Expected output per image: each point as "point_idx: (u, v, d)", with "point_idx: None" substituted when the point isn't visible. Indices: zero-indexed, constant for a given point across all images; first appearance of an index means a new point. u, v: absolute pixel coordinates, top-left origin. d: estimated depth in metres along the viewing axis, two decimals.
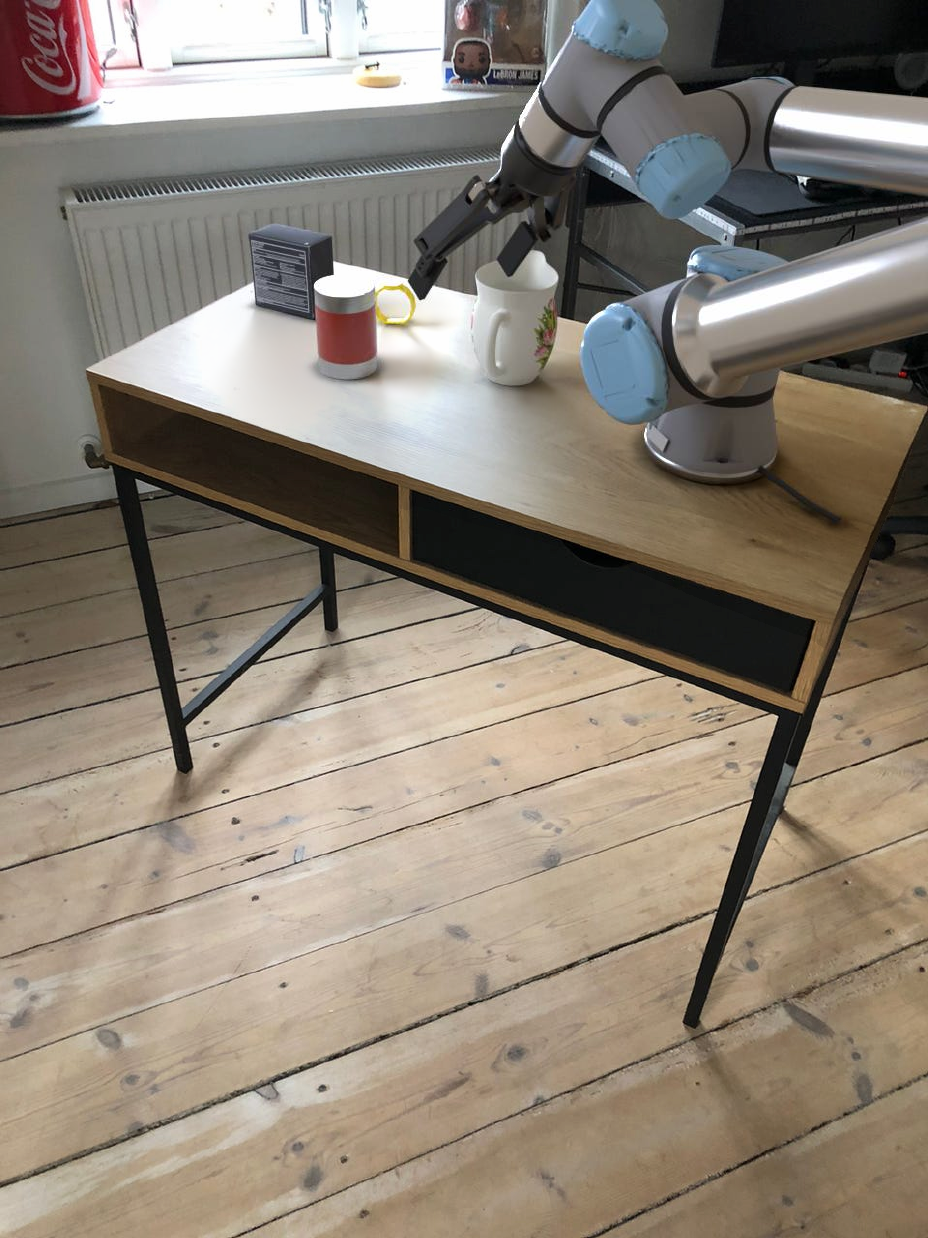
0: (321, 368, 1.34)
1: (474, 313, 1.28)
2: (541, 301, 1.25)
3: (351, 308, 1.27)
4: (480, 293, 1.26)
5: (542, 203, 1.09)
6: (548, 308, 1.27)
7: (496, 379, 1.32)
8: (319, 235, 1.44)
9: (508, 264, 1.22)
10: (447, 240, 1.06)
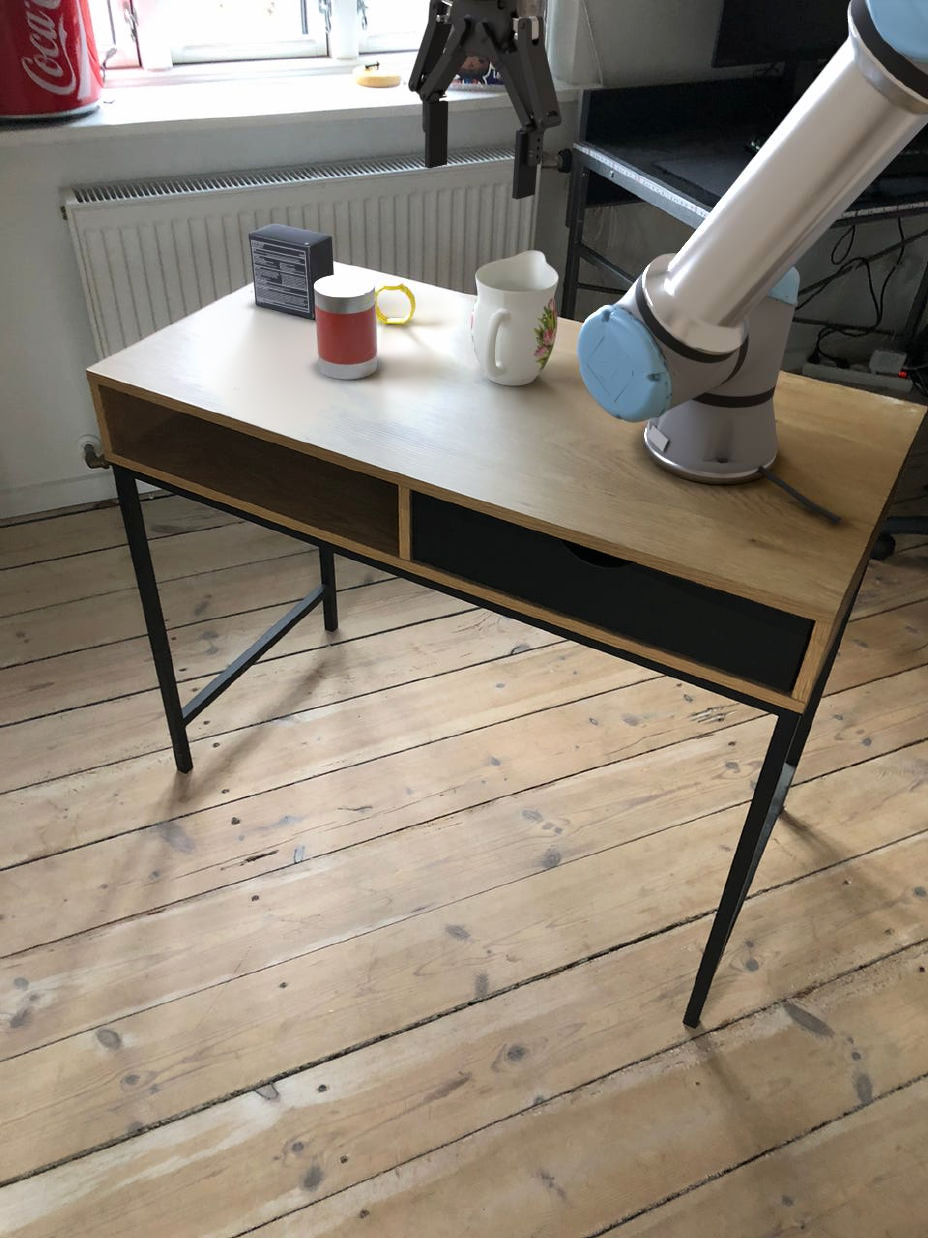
0: (321, 368, 1.34)
1: (474, 313, 1.28)
2: (541, 301, 1.25)
3: (351, 308, 1.27)
4: (480, 293, 1.26)
5: (491, 43, 1.00)
6: (548, 308, 1.27)
7: (496, 379, 1.32)
8: (319, 235, 1.44)
9: None
10: (418, 62, 1.09)
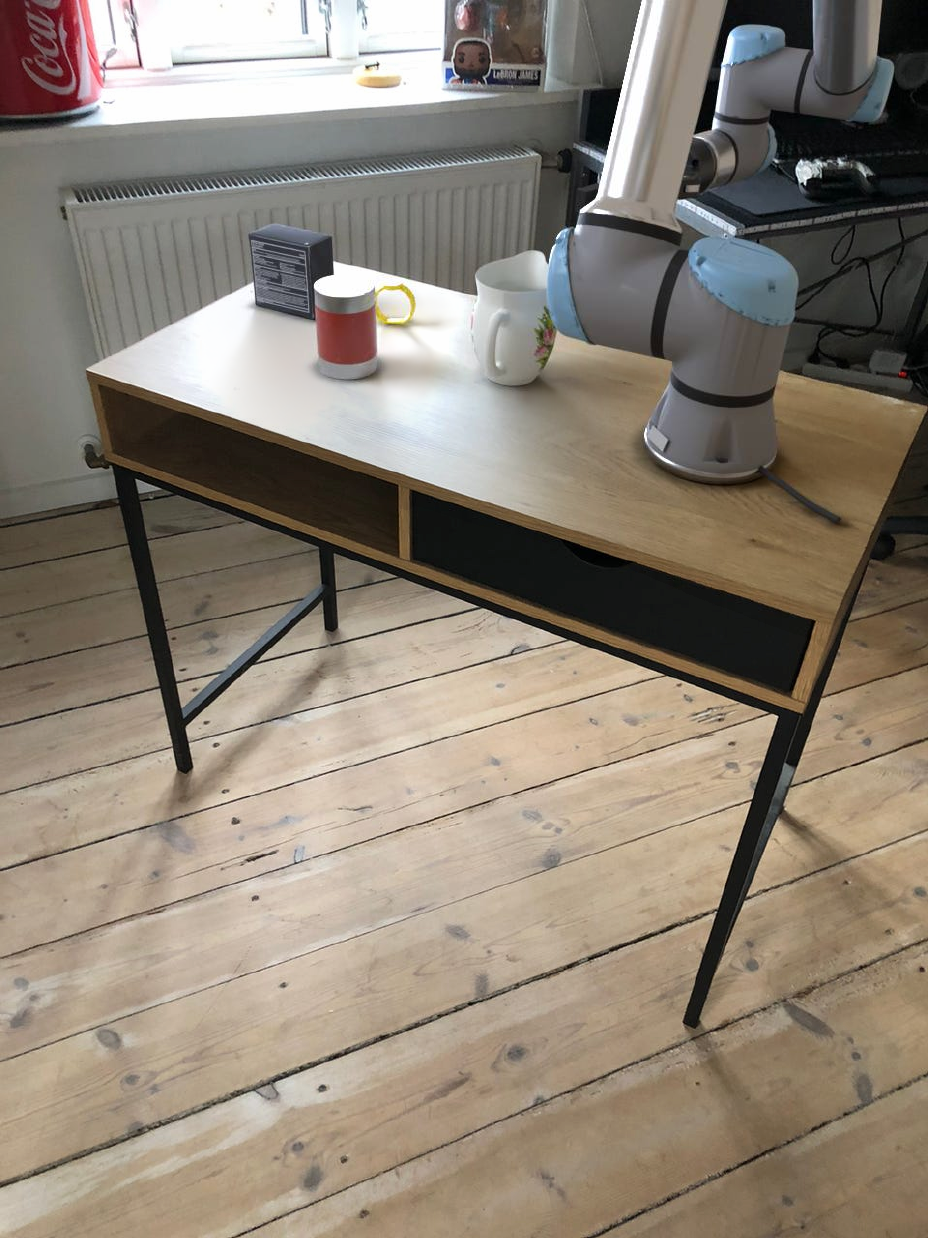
0: (321, 368, 1.34)
1: (474, 313, 1.28)
2: (541, 301, 1.25)
3: (351, 308, 1.27)
4: (480, 293, 1.26)
5: None
6: (548, 308, 1.27)
7: (496, 379, 1.32)
8: (319, 235, 1.44)
9: None
10: None
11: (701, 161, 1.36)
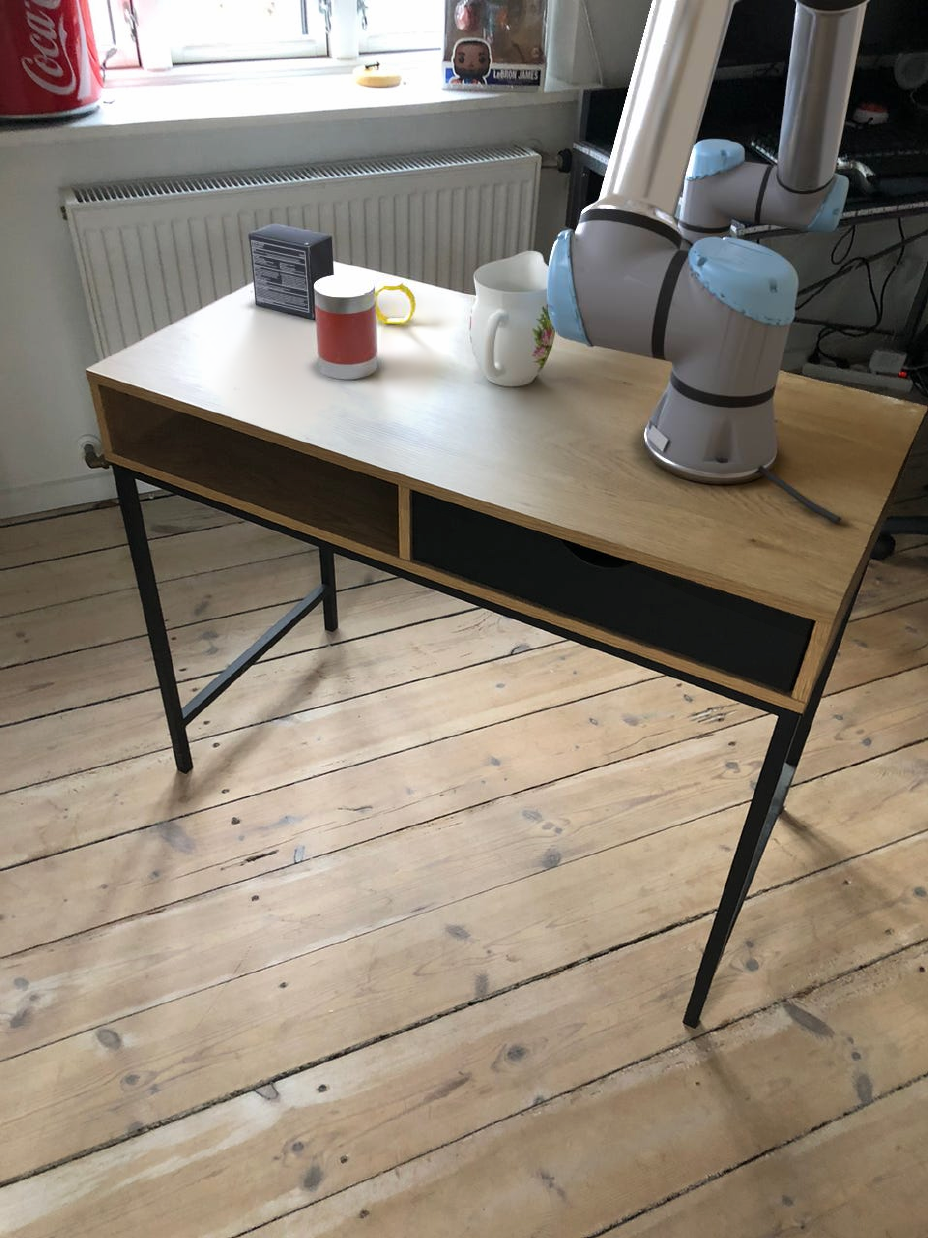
0: (321, 368, 1.34)
1: (472, 314, 1.28)
2: (539, 301, 1.25)
3: (351, 308, 1.27)
4: (478, 294, 1.26)
5: None
6: (547, 309, 1.27)
7: (495, 380, 1.32)
8: (319, 235, 1.44)
9: None
10: None
11: None
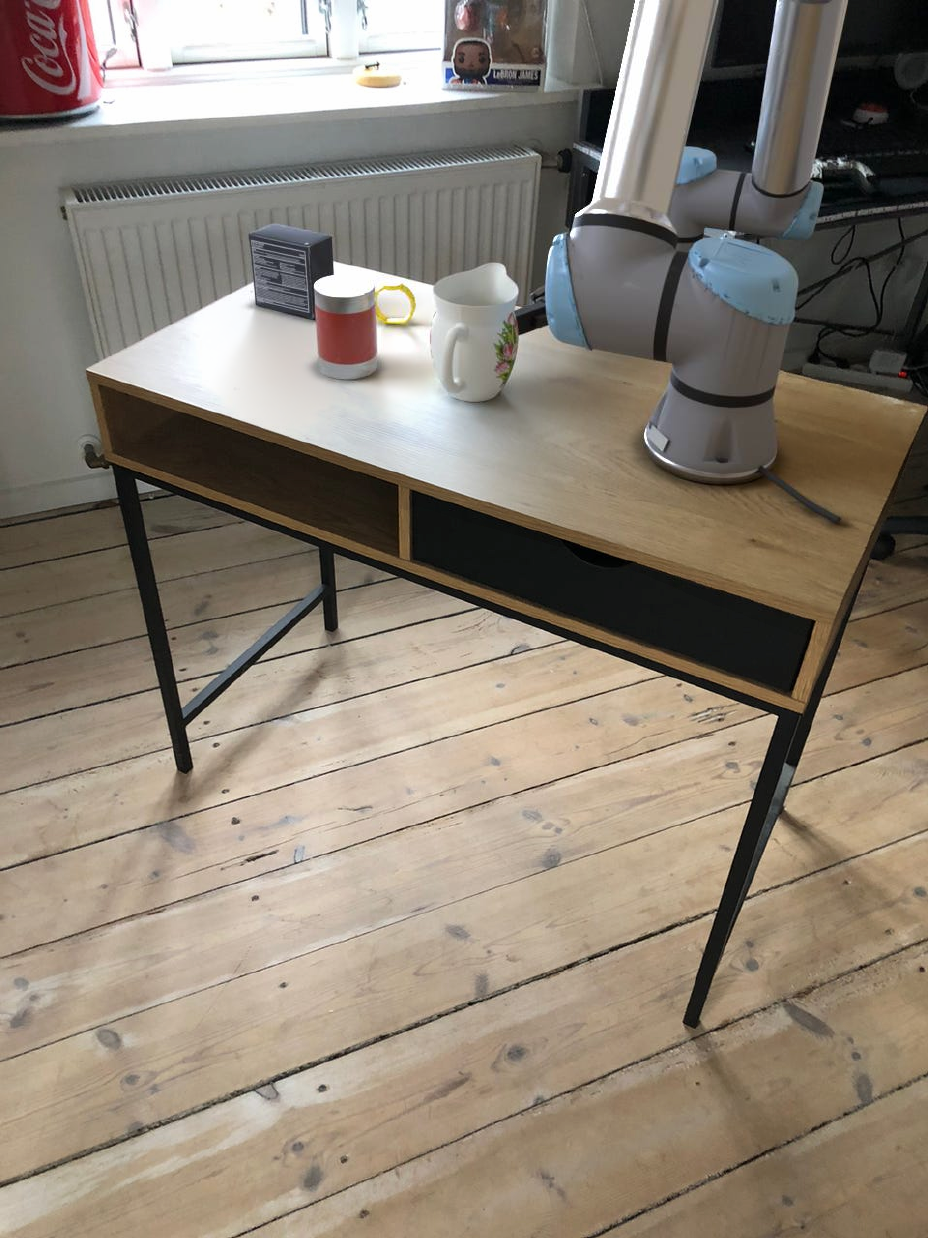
0: (321, 368, 1.34)
1: (432, 328, 1.25)
2: (500, 315, 1.21)
3: (351, 308, 1.27)
4: (438, 307, 1.22)
5: None
6: (508, 322, 1.23)
7: (456, 395, 1.28)
8: (319, 235, 1.44)
9: None
10: (543, 288, 1.37)
11: None
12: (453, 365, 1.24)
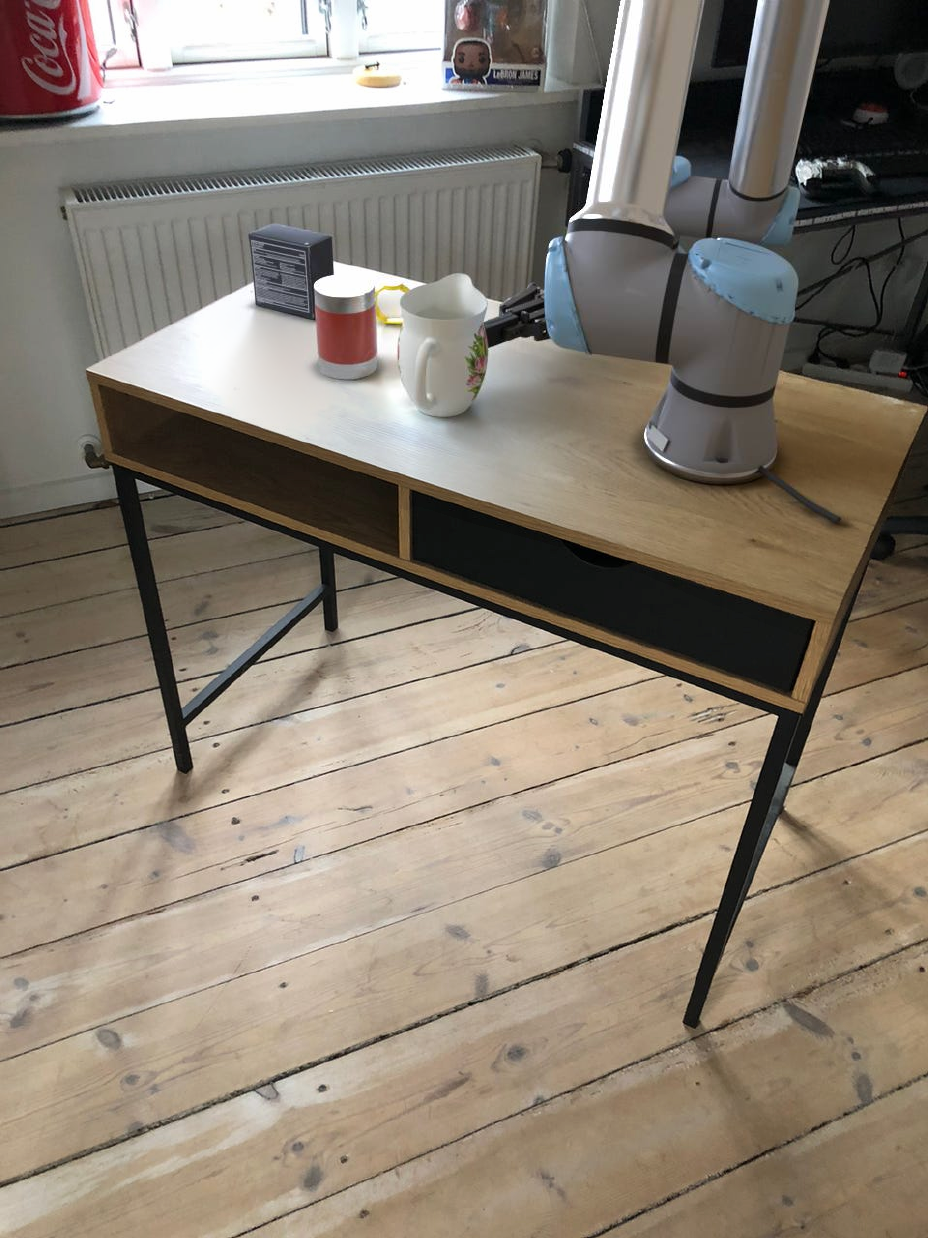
0: (321, 368, 1.34)
1: (400, 343, 1.21)
2: (471, 328, 1.18)
3: (351, 308, 1.27)
4: (406, 322, 1.19)
5: None
6: (479, 335, 1.20)
7: (427, 411, 1.25)
8: (319, 235, 1.44)
9: None
10: (513, 298, 1.34)
11: None
12: None
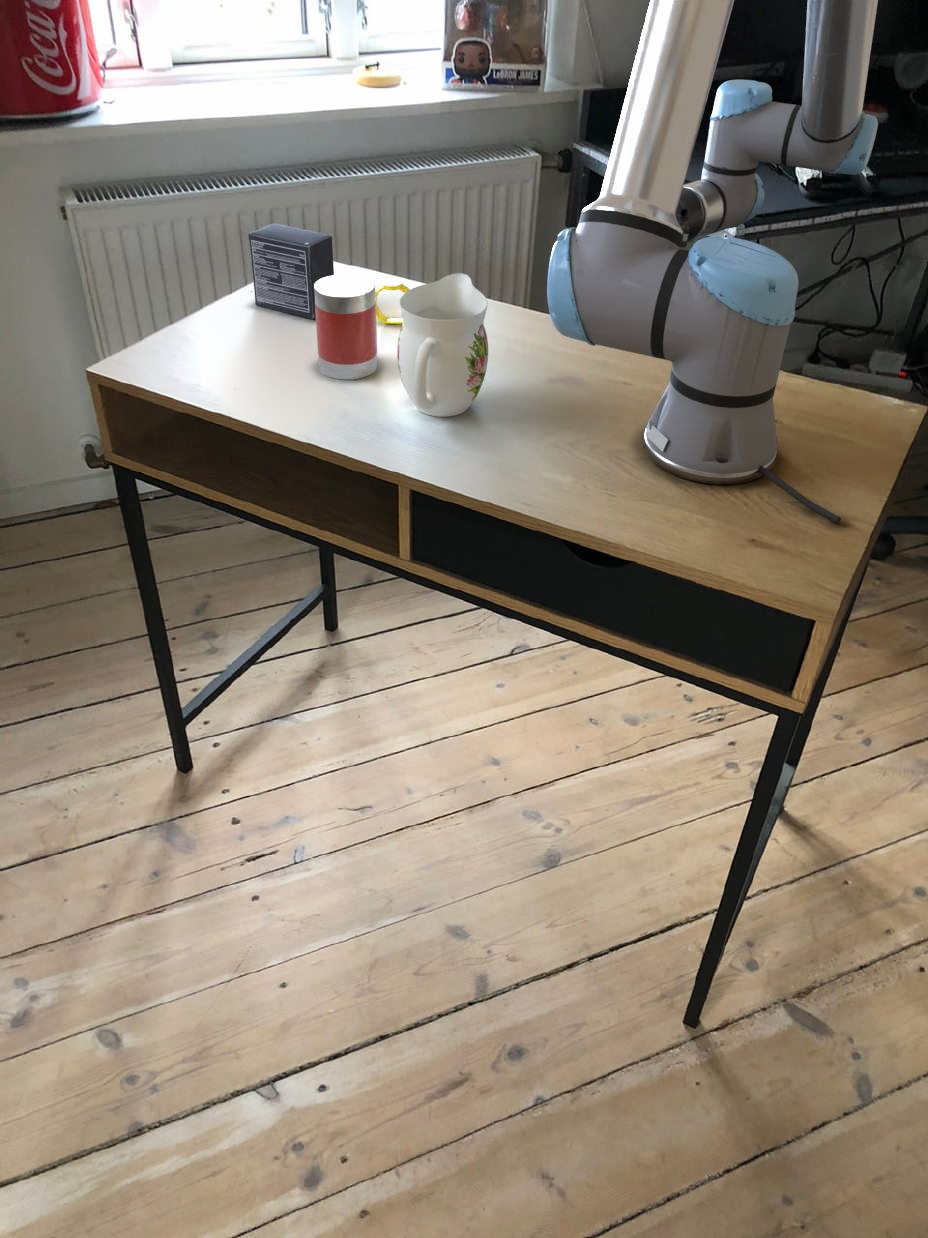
0: (321, 368, 1.34)
1: (400, 343, 1.21)
2: (471, 328, 1.18)
3: (351, 308, 1.27)
4: (406, 322, 1.19)
5: None
6: (479, 335, 1.20)
7: (427, 411, 1.25)
8: (319, 235, 1.44)
9: None
10: None
11: (690, 211, 1.39)
12: None
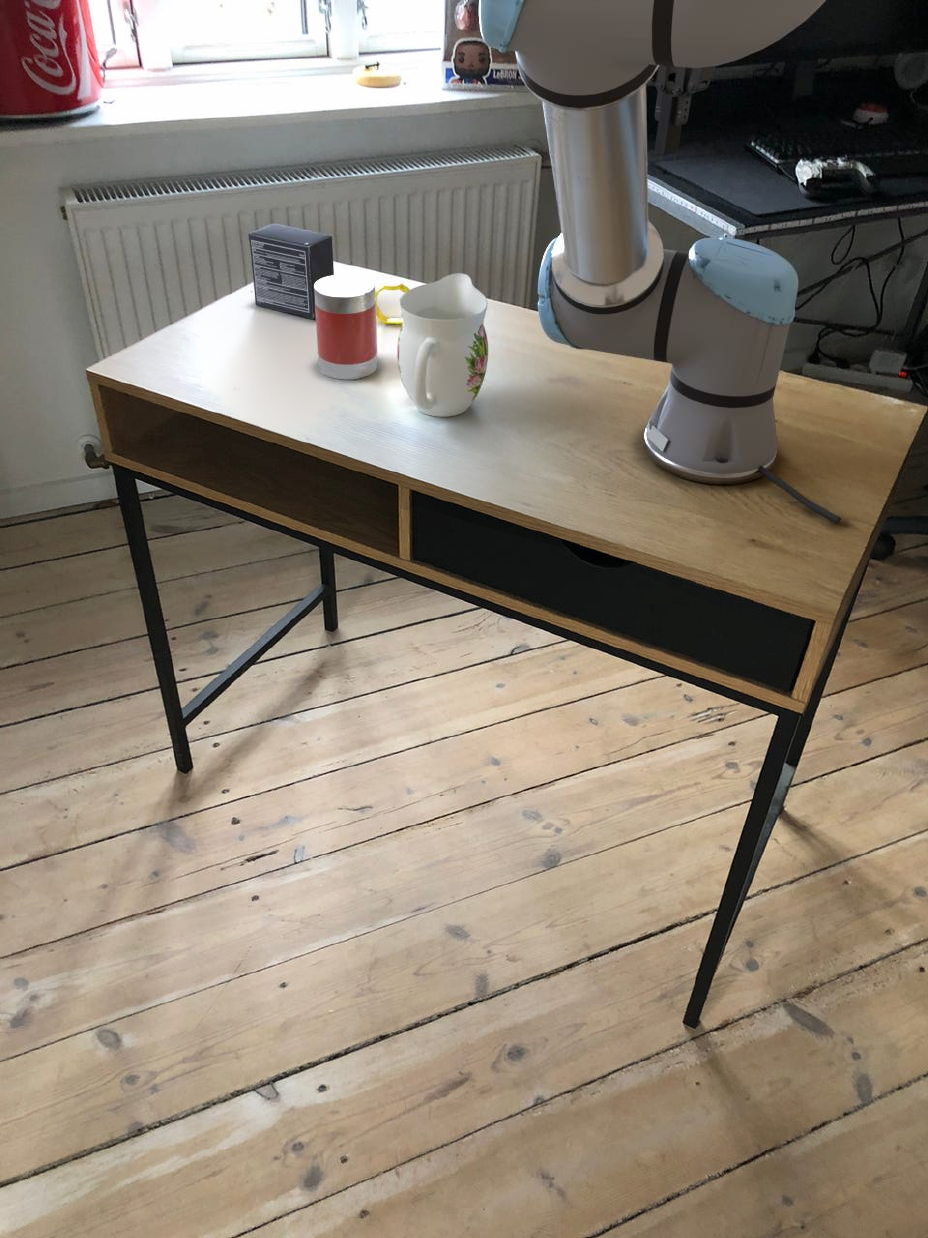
0: (321, 368, 1.34)
1: (400, 343, 1.21)
2: (471, 328, 1.18)
3: (351, 308, 1.27)
4: (406, 322, 1.19)
5: None
6: (479, 335, 1.20)
7: (427, 411, 1.25)
8: (319, 235, 1.44)
9: None
10: None
11: None
12: None
